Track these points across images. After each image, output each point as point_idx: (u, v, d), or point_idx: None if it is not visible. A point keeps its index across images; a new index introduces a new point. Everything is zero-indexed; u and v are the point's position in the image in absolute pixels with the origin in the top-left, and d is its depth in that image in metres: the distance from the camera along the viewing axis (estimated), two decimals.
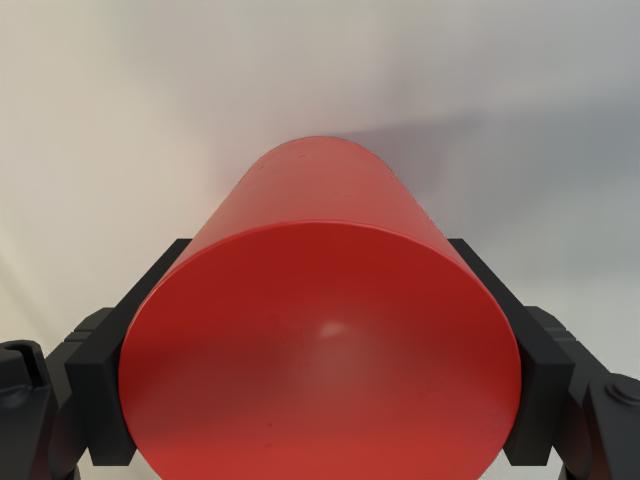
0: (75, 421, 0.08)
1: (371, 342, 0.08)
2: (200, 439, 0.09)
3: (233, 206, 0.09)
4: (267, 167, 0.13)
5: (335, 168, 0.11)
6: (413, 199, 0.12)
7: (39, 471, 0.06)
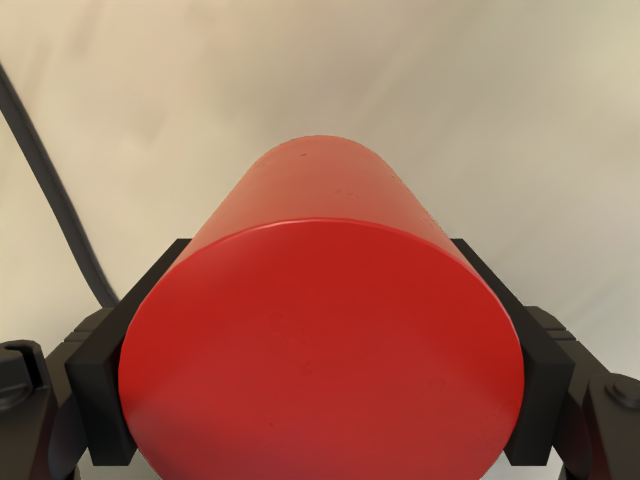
0: (75, 421, 0.08)
1: (373, 341, 0.08)
2: (201, 438, 0.08)
3: (234, 204, 0.09)
4: (268, 166, 0.13)
5: (336, 166, 0.11)
6: (414, 198, 0.12)
7: (39, 471, 0.06)
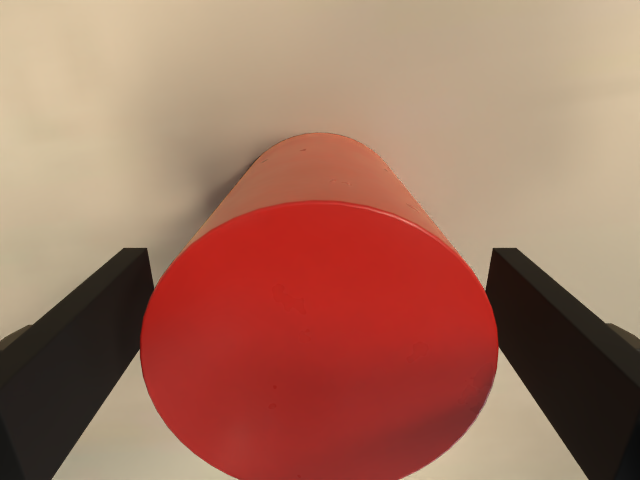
0: None
1: (365, 310, 0.09)
2: (212, 399, 0.10)
3: (241, 193, 0.10)
4: (270, 160, 0.14)
5: (333, 160, 0.12)
6: (405, 189, 0.13)
7: None
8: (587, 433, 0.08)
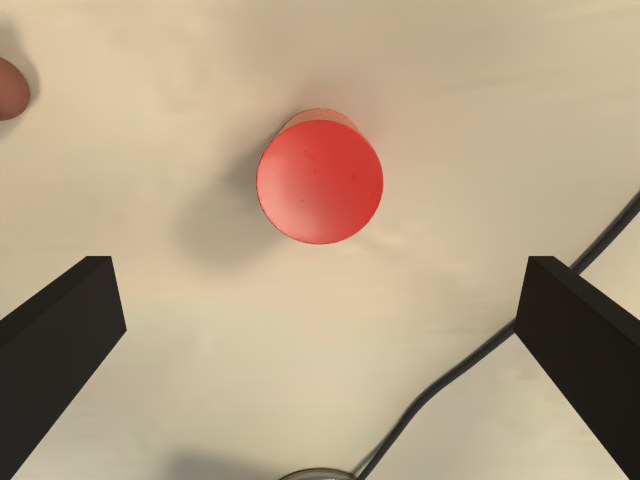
0: None
1: (335, 160, 0.25)
2: (281, 197, 0.26)
3: (289, 124, 0.27)
4: (297, 117, 0.30)
5: (325, 114, 0.28)
6: None
7: None
8: None
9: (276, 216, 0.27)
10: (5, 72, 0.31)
